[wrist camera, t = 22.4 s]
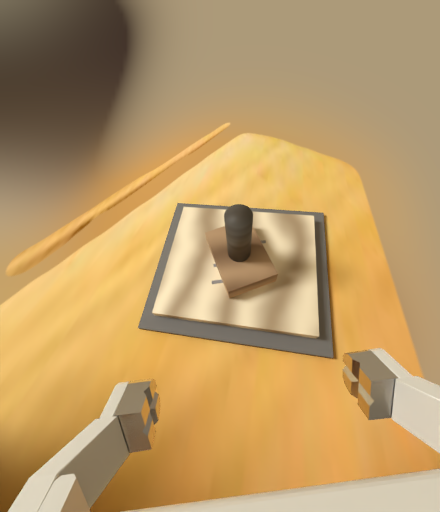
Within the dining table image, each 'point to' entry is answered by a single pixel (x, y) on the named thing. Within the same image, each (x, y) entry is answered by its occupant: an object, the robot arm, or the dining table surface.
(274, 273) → the sanding block
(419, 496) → the robot arm
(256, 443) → the dining table surface
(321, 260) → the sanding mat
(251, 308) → the board
